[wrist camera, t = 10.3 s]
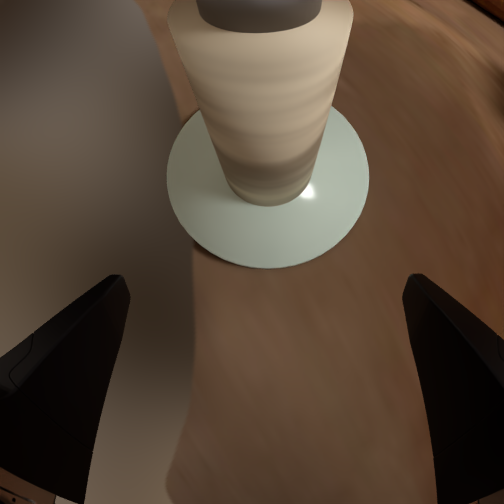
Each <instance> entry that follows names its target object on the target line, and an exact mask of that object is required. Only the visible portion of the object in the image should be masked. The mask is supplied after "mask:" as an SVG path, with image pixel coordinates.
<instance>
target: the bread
mask: <svg viewBox="0 0 504 504" xmlns="http://www.w3.org/2000/svg"><path fill="white" fill-rule="evenodd" d="M471 1H473V2H474V3H476V4H477V5H479V6H480V7H482V8H483V9H485V10H486V11H488V12H490V13H491V14H493V15H494V16H496V17H497V18H499V19H500V20H502V21H503V22H504V0H471Z"/></svg>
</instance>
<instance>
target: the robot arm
mask: <svg viewBox="0 0 504 504" xmlns="http://www.w3.org/2000/svg"><path fill="white" fill-rule="evenodd" d="M402 300H403V306H404V311H405V316H406V322H407V328H408V334H409V339H410V344H411V348H412V352H413V355H414V359H415V363H416V367H417V372H418V376H419V380H420V385H421V389H422V394H423V399H424V403H425V409H426V414H427V419H428V425H429V431H430V437H431V444H432V451H433V457H434V458H433V460H434V468H435V478H436V489H437V503H438V504H469V503H472V502H474V501H477V500H478V504H504V340H503V339H502V338H501V337H500V336H499V335H497V334H496V333H495V332H494V331H493V330H492V329H491V328H489V327H488V326H487V325H486V324H485V323H484V322H482V321H481V320H480V319H479V318H478V317H476V316H475V315H474V314H473V313H472V312H470V311H469V310H468V309H467V308H465V307H464V306H463V305H462V304H461V303H459V302H458V301H457V300H456V299H454V298H453V297H452V296H450V295H449V294H448V293H447V292H445V291H444V290H443V289H442V288H440V287H439V286H438V285H436V284H435V283H434V282H432V281H431V280H430V279H428V278H427V277H426V276H424V275H423V274H411V275H410V276H409V277H408V280H407V283H406V286H405V289H404V292H403V296H402ZM129 304H130V293H129V290H128V288H127V285H126V282H125V279H124V277H123V276H122V275H115V274H114V275H113V274H112V275H109V276H108V277H106V278H105V279H104V280H102V281H101V282H99V283H98V284H97V285H95V286H94V287H92V288H91V289H90V290H88V291H87V292H86V293H84V294H83V295H82V296H80V297H79V298H77V299H76V300H75V301H73V302H72V303H71V304H69V305H68V306H67V307H66V308H64V309H63V310H62V311H60V312H59V313H58V314H56V315H55V316H54V317H52V318H51V319H50V320H49V321H47V322H46V323H45V324H43V325H42V326H41V327H40V328H38V329H37V330H36V331H35V332H34V333H32V334H31V335H29V336H28V337H27V338H26V339H25V340H23V341H22V342H21V343H19V344H18V345H17V346H16V347H14V348H13V349H12V350H10V351H9V352H7V353H6V354H5V355H3V356H2V357H1V358H0V504H55V499H56V495H57V496H59V497H62V498H64V499H67V500H69V501H72V502H75V503H78V504H84V500H85V494H86V488H87V482H88V475H89V470H90V465H91V459H92V454H93V452H92V451H93V449H94V444H95V438H96V434H97V430H98V426H99V421H100V417H101V413H102V409H103V405H104V401H105V397H106V393H107V389H108V386H109V382H110V378H111V375H112V371H113V368H114V364H115V361H116V358H117V354H118V351H119V348H120V344H121V341H122V336H123V332H124V327H125V322H126V317H127V313H128V308H129Z"/></svg>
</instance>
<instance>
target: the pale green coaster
mask: <svg viewBox="0 0 504 504" xmlns="http://www.w3.org/2000/svg"><path fill="white" fill-rule="evenodd" d="M166 179H167V190H168V194H169V199H170V202H171V205H172V208H173V210H174V213H175V215H176V216H177V218H178V220H179V221H180V223H181V225H182V226H183V227H184V228H185V230H186V231H187V232H188V233H189V235H190V236H191V237H192V238H193V239H194V240H195V241H197V242H198V243H199V244H200V245H201V246H202V247H204V248H205V249H206V250H208V251H209V252H211V253H212V254H214V255H216V256H218V257H219V258H221V259H223V260H225V261H228V262H231V263H234V264H236V265H240V266H244V267H249V268H256V269H281V268H287V267H292V266H296V265H299V264H302V263H305V262H308V261H310V260H313V259H315V258H317V257H319V256H321V255H322V254H324V253H325V252H327V251H328V250H330V249H331V248H332V247H334V246H335V245H336V244H337V243H338V242H339V241H340V240H341V239H342V238H343V237H345V235H346V234H347V233H348V232H349V231H350V229H351V228H352V227H353V226H354V224H355V222H356V221H357V219H358V217H359V216H360V214H361V211H362V209H363V206H364V204H365V201H366V197H367V193H368V185H369V168H368V162H367V157H366V154H365V151H364V148H363V145H362V143H361V141H360V139H359V137H358V135H357V133H356V132H355V130H354V129H353V127H352V126H351V124H350V123H349V122H348V121H347V120H346V119H345V118H344V117H343V115H341V114H340V113H339V112H338V111H337V110H336V109H335V108H333V107H332V106H331V108H330V112H329V116H328V119H327V123H326V126H325V130H324V134H323V137H322V141H321V144H320V148H319V151H318V155H317V158H316V162H315V165H314V169H313V172H312V175H311V179H310V181H309V183H308V185H307V187H306V188H305V190H304V191H303V192H302V193H301V194H300V195H299V196H298V197H296V198H295V199H294V200H292V201H290V202H288V203H285V204H283V205H279V206H272V207H265V206H258V205H254V204H251V203H248V202H246V201H244V200H243V199H241V198H240V197H238V196H237V195H236V194H235V193H234V192H233V191H232V189H231V188H230V186H229V185H228V183H227V181H226V178H225V175H224V173H223V170H222V167H221V165H220V162H219V159H218V157H217V154H216V151H215V149H214V146H213V143H212V141H211V138H210V135H209V133H208V130H207V127H206V125H205V122H204V119H203V117H202V114H201V112H200V110H199V111H197V112H196V113H195V114H194V115H193V116H192V117H191V118H190V119H189V120H188V122H187V123H186V124H185V125H184V127H183V128H182V129H181V131H180V132H179V134H178V136H177V138H176V140H175V142H174V144H173V147H172V149H171V152H170V155H169V160H168V165H167V177H166Z"/></svg>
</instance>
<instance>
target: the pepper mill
mask: <svg viewBox="0 0 504 504" xmlns="http://www.w3.org/2000/svg"><path fill="white" fill-rule="evenodd" d="M167 22H168V26H169V29H170V32H171V34H172V37H173V40H174V42H175V45H176V48H177V50H178V53H179V56H180V58H181V61H182V64H183V66H184V69H185V72H186V74H187V77H188V80H189V82H190V85H191V88H192V90H193V93H194V96H195V98H196V101H197V104H198V106H199V109H200V112H201V114H202V117H203V119H204V122H205V125H206V127H207V130H208V133H209V135H210V138H211V141H212V143H213V146H214V149H215V151H216V154H217V157H218V159H219V162H220V165H221V167H222V170H223V173H224V175H225V178H226V181H227V183H228V185H229V186H230V188H231V189H232V191H233V192H234V193H235V194H236V195H237V196H238V197H240V198H241V199H243V200H244V201H246V202H248V203H251V204H254V205H258V206H265V207H272V206H279V205H283V204H285V203H288V202H290V201H292V200H294V199H295V198H296V197H298V196H299V195H300V194H301V193H302V192H303V191H304V190H305V188H306V187H307V185H308V183H309V181H310V179H311V175H312V172H313V169H314V165H315V162H316V158H317V155H318V151H319V148H320V144H321V141H322V137H323V134H324V130H325V126H326V123H327V119H328V116H329V112H330V108H331V105H332V101H333V97H334V93H335V90H336V86H337V82H338V78H339V74H340V70H341V66H342V62H343V58H344V54H345V50H346V46H347V42H348V38H349V34H350V30H351V26H352V22H353V8H352V6H351V4H350V2H349V0H175V1H174V2H173V4H172V5H171V7H170V9H169V12H168V16H167Z"/></svg>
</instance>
